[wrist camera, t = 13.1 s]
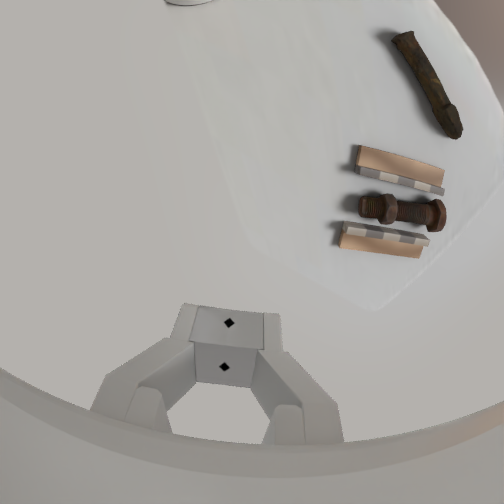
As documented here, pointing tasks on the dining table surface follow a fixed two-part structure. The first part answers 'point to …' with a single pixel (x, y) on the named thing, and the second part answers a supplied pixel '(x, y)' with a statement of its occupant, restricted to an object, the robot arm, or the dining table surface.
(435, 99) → the carved wooden phallus
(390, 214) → the bolt
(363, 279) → the dining table surface
